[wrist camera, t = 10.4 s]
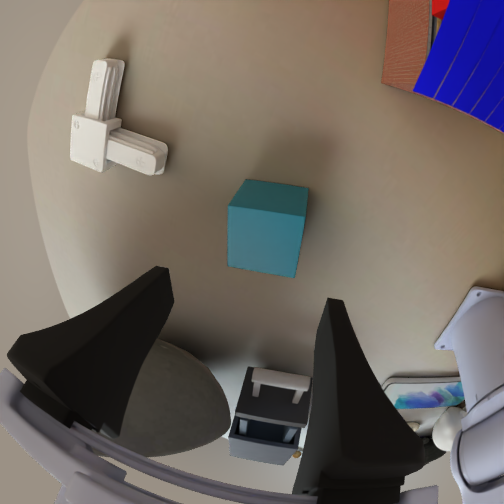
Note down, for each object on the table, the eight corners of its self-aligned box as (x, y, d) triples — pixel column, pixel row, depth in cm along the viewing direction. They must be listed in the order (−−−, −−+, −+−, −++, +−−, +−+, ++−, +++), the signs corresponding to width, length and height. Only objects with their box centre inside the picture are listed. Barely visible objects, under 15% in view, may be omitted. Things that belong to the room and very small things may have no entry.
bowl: (-8, 324, 12) (17, 459, 9) (256, 322, 22) (270, 438, 19) (50, 332, 29) (59, 404, 26) (189, 331, 39) (197, 397, 36)
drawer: (250, 340, 25) (235, 391, 21) (323, 353, 24) (319, 406, 20) (244, 403, 34) (234, 439, 30) (295, 412, 33) (289, 448, 29)
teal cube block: (308, 187, 17) (305, 216, 14) (299, 241, 19) (294, 278, 16) (245, 178, 18) (227, 205, 14) (243, 232, 20) (227, 266, 17)
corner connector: (188, 72, 14) (174, 73, 12) (161, 184, 19) (149, 193, 17) (96, 57, 14) (80, 58, 12) (83, 152, 19) (70, 159, 17)
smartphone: (388, 381, 25) (485, 378, 23) (387, 375, 26) (484, 373, 23) (367, 409, 29) (457, 406, 27) (367, 404, 30) (457, 401, 27)
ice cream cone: (519, 352, 24) (443, 427, 31) (504, 340, 23) (418, 424, 31) (541, 384, 17) (454, 461, 24) (530, 377, 17) (429, 463, 24)
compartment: (242, 388, 33) (228, 437, 27) (305, 399, 32) (297, 449, 26) (240, 417, 40) (229, 455, 34) (290, 426, 38) (283, 465, 33)
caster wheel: (442, 467, 27) (366, 478, 35) (449, 452, 32) (384, 465, 41) (441, 439, 30) (364, 453, 38) (448, 427, 36) (382, 442, 44)
